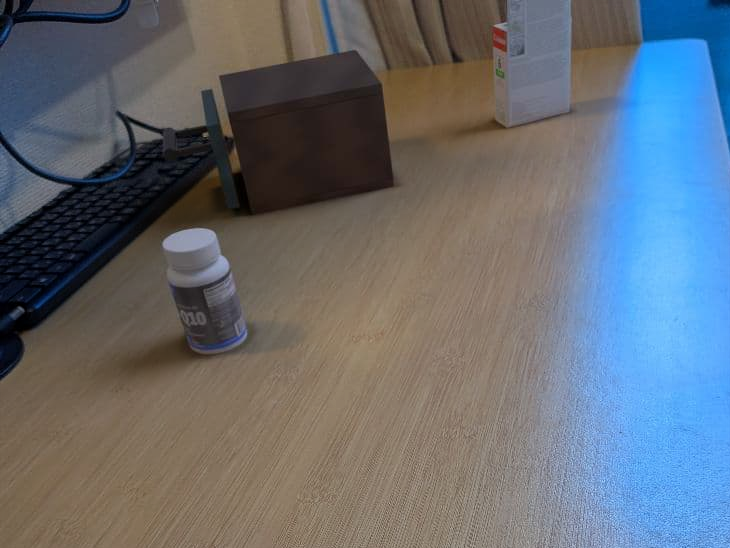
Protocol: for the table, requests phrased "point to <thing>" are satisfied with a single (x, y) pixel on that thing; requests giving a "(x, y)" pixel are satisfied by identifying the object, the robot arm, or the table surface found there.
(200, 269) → the pill bottle
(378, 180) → the cabinet
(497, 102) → the ink box
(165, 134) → the drawer
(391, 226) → the table surface
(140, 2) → the robot arm
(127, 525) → the table surface
